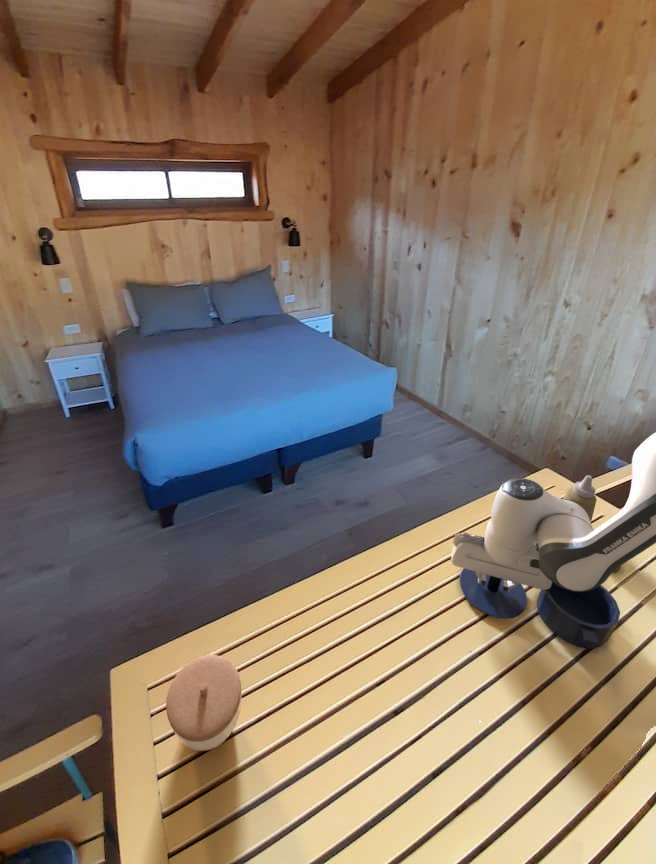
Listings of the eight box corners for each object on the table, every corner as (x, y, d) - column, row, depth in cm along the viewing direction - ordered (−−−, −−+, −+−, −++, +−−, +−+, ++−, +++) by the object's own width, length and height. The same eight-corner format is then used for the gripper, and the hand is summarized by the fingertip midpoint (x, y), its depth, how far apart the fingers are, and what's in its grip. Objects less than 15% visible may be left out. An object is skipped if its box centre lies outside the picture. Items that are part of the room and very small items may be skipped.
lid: (522, 574, 98) (527, 560, 95) (530, 630, 86) (536, 615, 84) (459, 558, 102) (462, 544, 100) (458, 608, 90) (462, 593, 88)
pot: (595, 590, 94) (605, 569, 91) (621, 672, 78) (634, 651, 75) (531, 573, 98) (538, 553, 95) (543, 648, 82) (552, 627, 79)
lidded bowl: (180, 781, 65) (169, 748, 60) (169, 699, 76) (159, 666, 71) (254, 741, 70) (249, 708, 65) (234, 669, 80) (229, 636, 75)
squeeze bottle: (547, 515, 115) (565, 465, 107) (577, 518, 114) (598, 467, 105) (559, 537, 108) (580, 485, 99) (592, 540, 106) (615, 488, 98)
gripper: (455, 541, 88) (445, 583, 94) (562, 568, 81) (544, 611, 87) (455, 521, 93) (446, 562, 99) (556, 545, 86) (540, 587, 93)
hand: (493, 585), depth 93 cm, fingers open, 4 cm apart
